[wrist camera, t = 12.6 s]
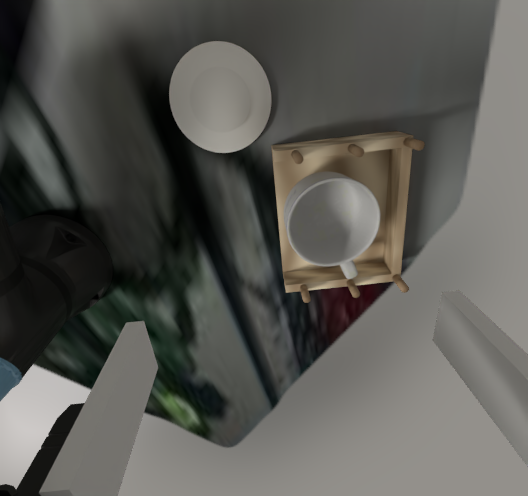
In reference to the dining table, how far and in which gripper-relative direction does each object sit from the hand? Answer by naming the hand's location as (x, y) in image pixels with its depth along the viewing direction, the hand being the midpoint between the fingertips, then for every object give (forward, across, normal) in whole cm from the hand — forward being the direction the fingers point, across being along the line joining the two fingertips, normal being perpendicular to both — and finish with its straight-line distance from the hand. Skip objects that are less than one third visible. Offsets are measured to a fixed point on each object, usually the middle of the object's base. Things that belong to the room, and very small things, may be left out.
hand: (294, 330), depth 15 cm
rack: (+31, +10, -6) cm, 33 cm away
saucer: (+32, -4, +9) cm, 34 cm away
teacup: (+30, +8, -6) cm, 32 cm away
